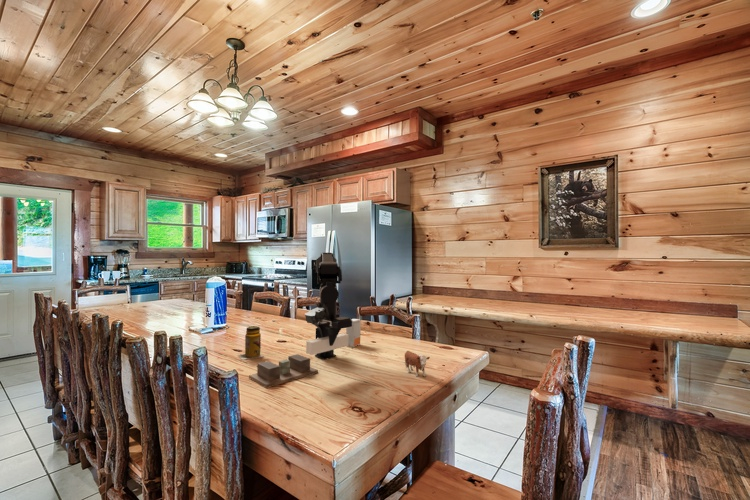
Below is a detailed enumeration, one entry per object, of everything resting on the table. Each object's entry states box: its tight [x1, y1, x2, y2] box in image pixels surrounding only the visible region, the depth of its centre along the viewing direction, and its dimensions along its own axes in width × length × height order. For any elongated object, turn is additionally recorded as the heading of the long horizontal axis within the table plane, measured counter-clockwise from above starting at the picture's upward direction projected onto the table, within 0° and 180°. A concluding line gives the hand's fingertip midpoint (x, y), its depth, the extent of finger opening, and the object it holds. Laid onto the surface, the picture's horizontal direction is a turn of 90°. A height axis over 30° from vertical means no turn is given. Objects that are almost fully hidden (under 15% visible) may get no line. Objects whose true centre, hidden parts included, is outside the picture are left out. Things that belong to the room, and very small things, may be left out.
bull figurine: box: [404, 350, 431, 378], centre depth 123 cm, size 4×13×8 cm, turn 25°
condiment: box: [237, 325, 264, 361], centre depth 144 cm, size 7×8×12 cm
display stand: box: [248, 353, 319, 389], centre depth 121 cm, size 20×12×5 cm, turn 135°
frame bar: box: [305, 332, 349, 356], centre depth 119 cm, size 16×3×4 cm, turn 136°
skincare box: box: [345, 318, 362, 348], centre depth 162 cm, size 6×4×12 cm
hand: (328, 344), depth 119 cm, fingers closed on frame bar, 3 cm apart
